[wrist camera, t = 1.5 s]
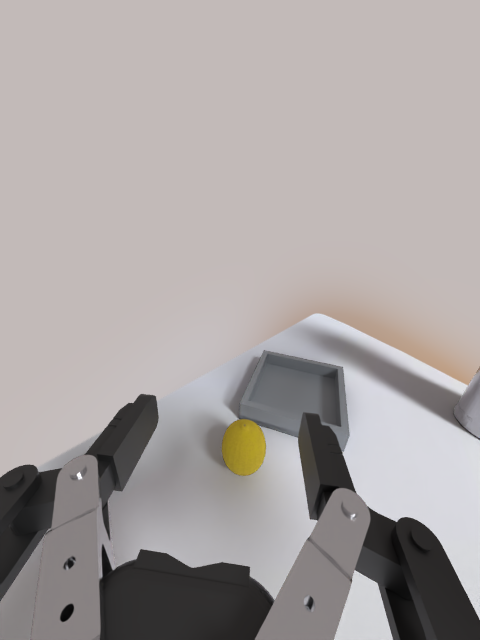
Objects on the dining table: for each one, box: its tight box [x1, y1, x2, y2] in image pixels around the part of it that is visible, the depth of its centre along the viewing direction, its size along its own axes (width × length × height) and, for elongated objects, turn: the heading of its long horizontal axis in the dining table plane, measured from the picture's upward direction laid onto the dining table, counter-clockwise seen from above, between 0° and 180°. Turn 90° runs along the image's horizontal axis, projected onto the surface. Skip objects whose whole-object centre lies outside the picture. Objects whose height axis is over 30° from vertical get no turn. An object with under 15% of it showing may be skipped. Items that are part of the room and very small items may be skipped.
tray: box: [239, 350, 349, 452], centre depth 41 cm, size 16×16×4 cm
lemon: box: [222, 419, 266, 476], centre depth 29 cm, size 6×6×8 cm
